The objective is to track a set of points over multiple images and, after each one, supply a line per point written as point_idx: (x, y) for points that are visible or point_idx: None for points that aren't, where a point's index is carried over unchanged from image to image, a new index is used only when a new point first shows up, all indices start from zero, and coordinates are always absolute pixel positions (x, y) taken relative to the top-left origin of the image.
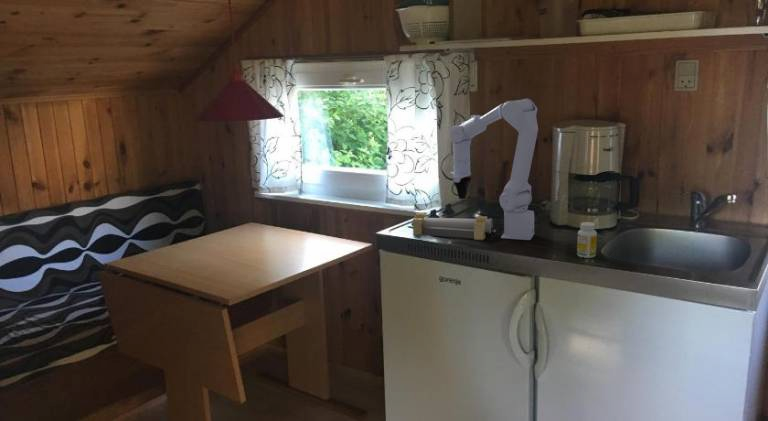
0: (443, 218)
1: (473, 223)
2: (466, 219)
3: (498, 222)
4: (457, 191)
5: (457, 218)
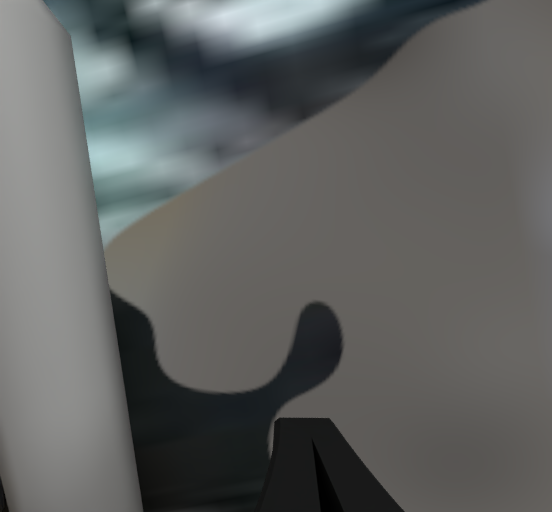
0: (9, 232)
1: (7, 491)
2: (34, 444)
3: None
4: (258, 500)
5: (44, 364)
